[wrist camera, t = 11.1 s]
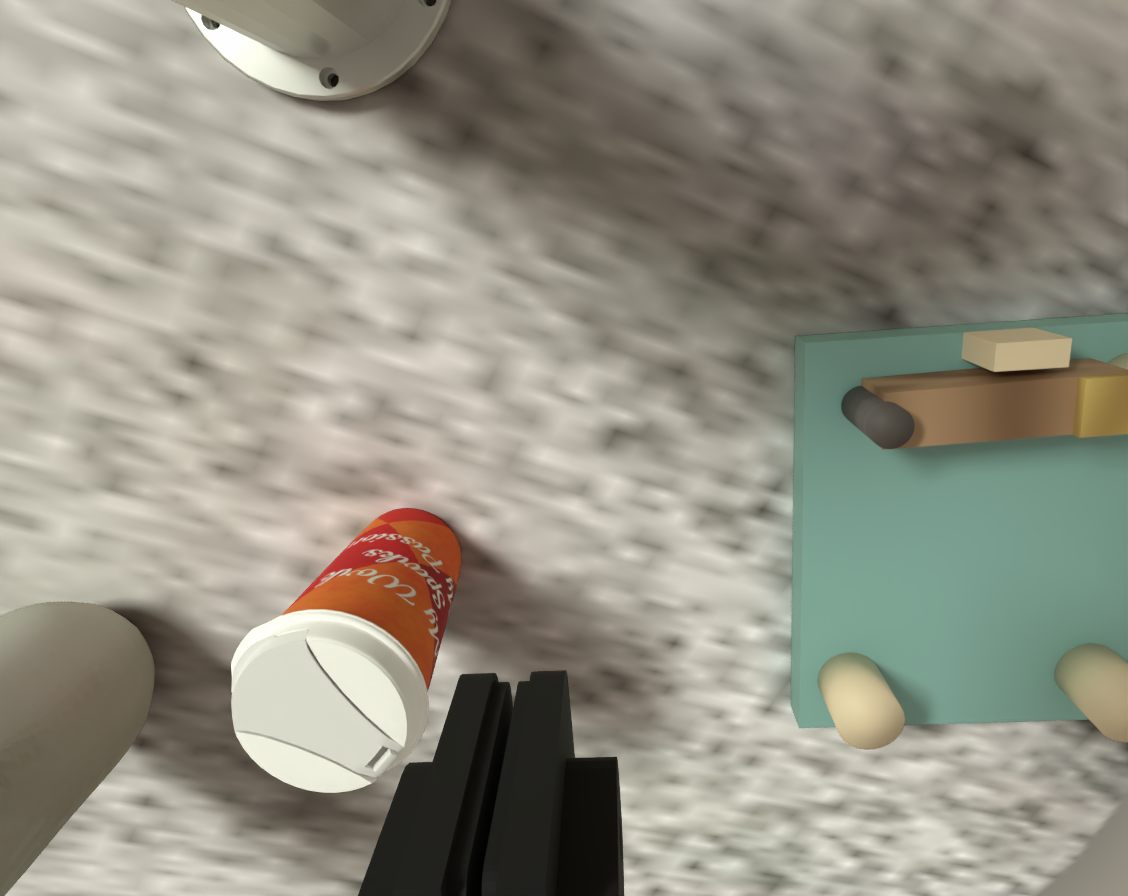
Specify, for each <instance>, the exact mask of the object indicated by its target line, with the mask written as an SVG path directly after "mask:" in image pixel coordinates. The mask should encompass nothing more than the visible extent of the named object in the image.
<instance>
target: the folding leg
mask: <svg viewBox="0 0 1128 896" xmlns="http://www.w3.org/2000/svg"><path fill="white" fill-rule="evenodd" d="M841 409H842V413H843V415H844V416H845V418H846V419H848V420H849V421H850V422H851V423H852V424H853V425H854V426H856V427H857V428H858V429H859V430H860V431H861V432H863V433H864V434H865V435H866V436H867V437H868V438H869V439H871V440H872V441H873V442H874V443H875V444H876V445H878V446H879V447H881V448H882V449H883V450H885V449H898V448H910V447H923V446H935V445H948V444H960V443H973V442H985V441H997V440H1010V439H1022V438H1035V437H1047V436H1060V435H1072V434H1073V435H1075V436H1077V437H1079V438H1084V437H1097V436H1109V435H1122V434H1128V369H1125V368H1121V367H1118V366H1115V365H1111V364H1108V363H1105V362H1102V361H1098V360H1095V359H1092V358H1085V359H1074V360H1070V361H1069V367H1062V368H1047V369H1031V370H1016V371H1000V372H993V371H990V370H988V369H986V368H972V369H961V370H949V371H938V372H927V373H915V374H904V375H893V376H881V377H870V378H861V386H857V387H854V388H852V389H851V390H849V391H848V392H847V393H846V394H845V396H844V398H843V400H842V403H841Z"/></svg>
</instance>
